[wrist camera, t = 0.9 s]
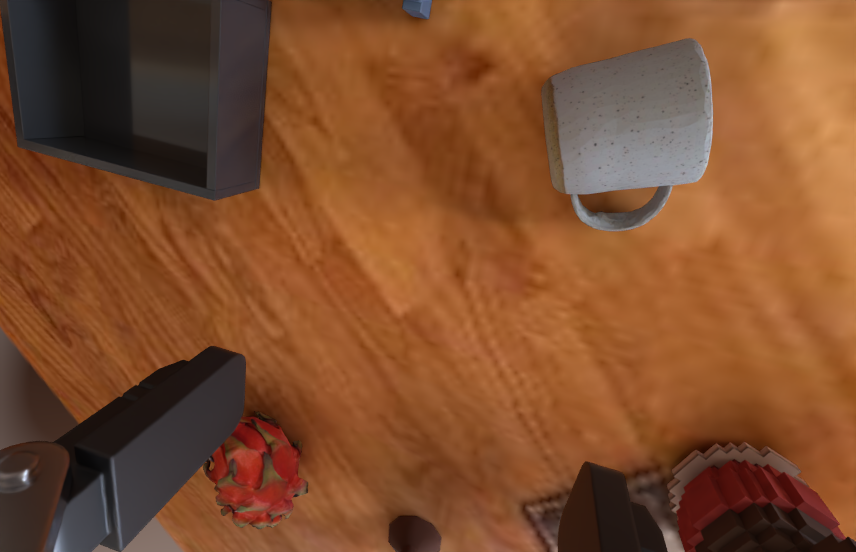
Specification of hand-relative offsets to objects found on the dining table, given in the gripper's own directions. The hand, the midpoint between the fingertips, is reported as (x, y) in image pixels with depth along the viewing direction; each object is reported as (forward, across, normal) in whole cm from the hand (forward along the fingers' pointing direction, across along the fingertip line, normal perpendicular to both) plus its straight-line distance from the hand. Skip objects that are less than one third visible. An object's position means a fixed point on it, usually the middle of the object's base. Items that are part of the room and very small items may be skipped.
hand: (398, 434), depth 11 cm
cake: (+25, -23, +17) cm, 38 cm away
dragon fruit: (+25, +16, +28) cm, 41 cm away
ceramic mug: (+26, -7, -6) cm, 27 cm away
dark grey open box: (+25, +27, -4) cm, 37 cm away
